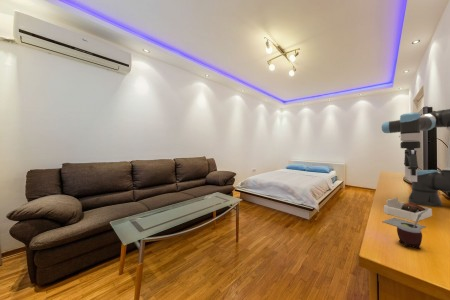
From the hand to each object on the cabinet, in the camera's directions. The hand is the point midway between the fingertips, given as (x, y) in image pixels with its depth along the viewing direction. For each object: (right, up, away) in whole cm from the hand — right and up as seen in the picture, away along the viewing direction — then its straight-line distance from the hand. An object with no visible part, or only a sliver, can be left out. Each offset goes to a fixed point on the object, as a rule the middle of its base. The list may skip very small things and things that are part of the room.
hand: (410, 179), depth 96 cm
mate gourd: (-28, -22, -26) cm, 44 cm away
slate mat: (-12, -22, -7) cm, 26 cm away
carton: (+4, -22, +5) cm, 23 cm away
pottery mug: (+4, -23, +4) cm, 23 cm away
